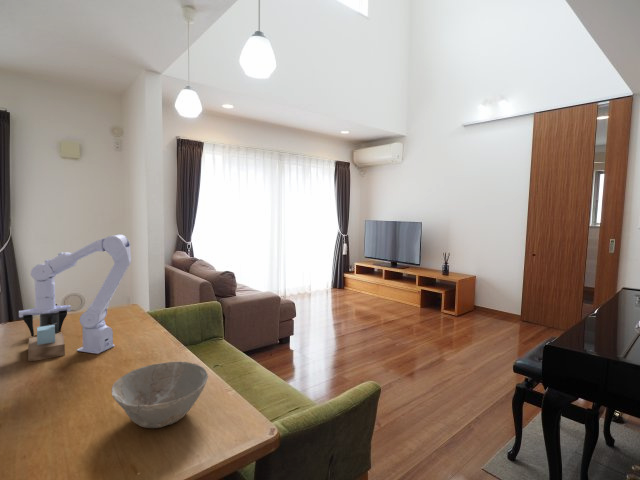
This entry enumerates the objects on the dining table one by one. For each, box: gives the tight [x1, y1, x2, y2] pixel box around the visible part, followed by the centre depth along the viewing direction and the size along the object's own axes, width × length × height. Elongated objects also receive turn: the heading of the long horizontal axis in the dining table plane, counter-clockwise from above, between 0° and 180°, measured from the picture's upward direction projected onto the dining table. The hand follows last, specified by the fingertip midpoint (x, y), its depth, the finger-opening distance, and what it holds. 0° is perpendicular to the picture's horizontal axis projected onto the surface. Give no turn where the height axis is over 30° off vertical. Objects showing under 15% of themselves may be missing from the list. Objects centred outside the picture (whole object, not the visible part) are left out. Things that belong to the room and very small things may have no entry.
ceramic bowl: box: [111, 361, 209, 429], centre depth 88 cm, size 22×23×10 cm
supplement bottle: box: [39, 303, 60, 334], centre depth 143 cm, size 7×7×12 cm
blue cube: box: [36, 325, 55, 345], centre depth 124 cm, size 5×5×5 cm
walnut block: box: [27, 332, 66, 362], centre depth 125 cm, size 10×14×4 cm
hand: (46, 333), depth 124 cm, fingers open, 7 cm apart
